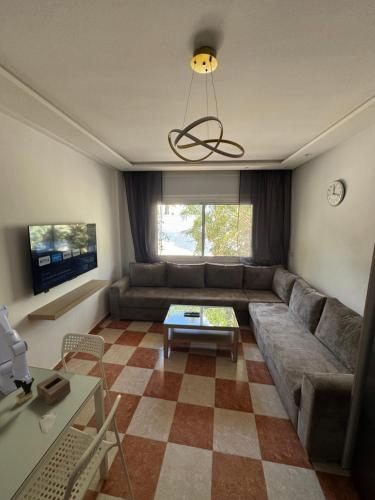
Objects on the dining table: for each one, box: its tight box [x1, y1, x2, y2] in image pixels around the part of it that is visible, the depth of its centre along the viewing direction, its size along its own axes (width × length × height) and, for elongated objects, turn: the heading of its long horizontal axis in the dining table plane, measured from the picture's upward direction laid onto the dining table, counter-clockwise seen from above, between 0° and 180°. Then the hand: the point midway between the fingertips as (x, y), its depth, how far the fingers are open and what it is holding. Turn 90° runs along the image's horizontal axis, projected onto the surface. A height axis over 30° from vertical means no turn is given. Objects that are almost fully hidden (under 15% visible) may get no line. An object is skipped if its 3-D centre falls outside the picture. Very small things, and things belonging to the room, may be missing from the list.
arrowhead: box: [39, 412, 58, 435], centre depth 100 cm, size 7×2×10 cm
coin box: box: [36, 372, 71, 406], centre depth 116 cm, size 12×10×6 cm
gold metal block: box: [15, 388, 34, 406], centre depth 112 cm, size 2×6×4 cm, turn 150°
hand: (23, 390), depth 111 cm, fingers open, 7 cm apart
